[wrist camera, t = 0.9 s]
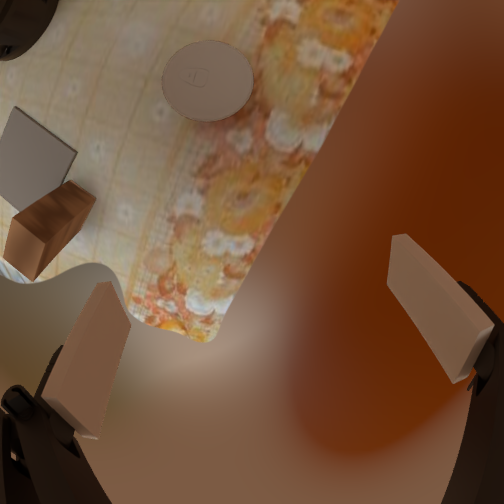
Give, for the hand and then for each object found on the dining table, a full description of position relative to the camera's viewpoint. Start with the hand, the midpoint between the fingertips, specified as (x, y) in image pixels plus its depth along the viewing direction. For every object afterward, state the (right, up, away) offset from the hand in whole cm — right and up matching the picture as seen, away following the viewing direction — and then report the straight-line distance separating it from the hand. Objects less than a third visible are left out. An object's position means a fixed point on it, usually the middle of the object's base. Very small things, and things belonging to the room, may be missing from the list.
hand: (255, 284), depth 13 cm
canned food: (-5, +21, +18) cm, 28 cm away
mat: (-34, +14, +20) cm, 41 cm away
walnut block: (-25, +8, +23) cm, 35 cm away
